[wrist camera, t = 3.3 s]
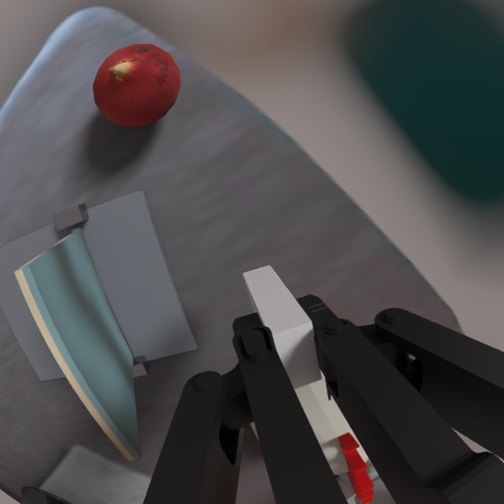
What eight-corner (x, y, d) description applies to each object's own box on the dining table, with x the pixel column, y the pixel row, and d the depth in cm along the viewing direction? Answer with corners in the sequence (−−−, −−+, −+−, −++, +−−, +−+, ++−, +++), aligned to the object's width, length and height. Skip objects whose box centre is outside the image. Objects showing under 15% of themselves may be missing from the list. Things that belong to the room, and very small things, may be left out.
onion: (141, 54, 19) (118, 7, 11) (198, 86, 21) (197, 46, 13) (97, 112, 20) (54, 88, 12) (153, 147, 21) (129, 134, 14)
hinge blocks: (126, 370, 25) (123, 379, 23) (60, 213, 21) (53, 215, 19) (149, 365, 25) (147, 374, 24) (84, 203, 21) (78, 205, 19)
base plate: (43, 377, 24) (41, 380, 24) (-16, 254, 20) (-19, 256, 20) (197, 345, 26) (197, 348, 25) (143, 189, 22) (141, 189, 21)
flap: (134, 353, 24) (125, 356, 24) (82, 226, 21) (72, 230, 21) (144, 460, 13) (130, 463, 13) (28, 260, 9) (11, 267, 9)
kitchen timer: (263, 439, 31) (295, 546, 16) (219, 354, 27) (242, 495, 12) (372, 393, 31) (437, 480, 17) (358, 299, 28) (463, 390, 13)
